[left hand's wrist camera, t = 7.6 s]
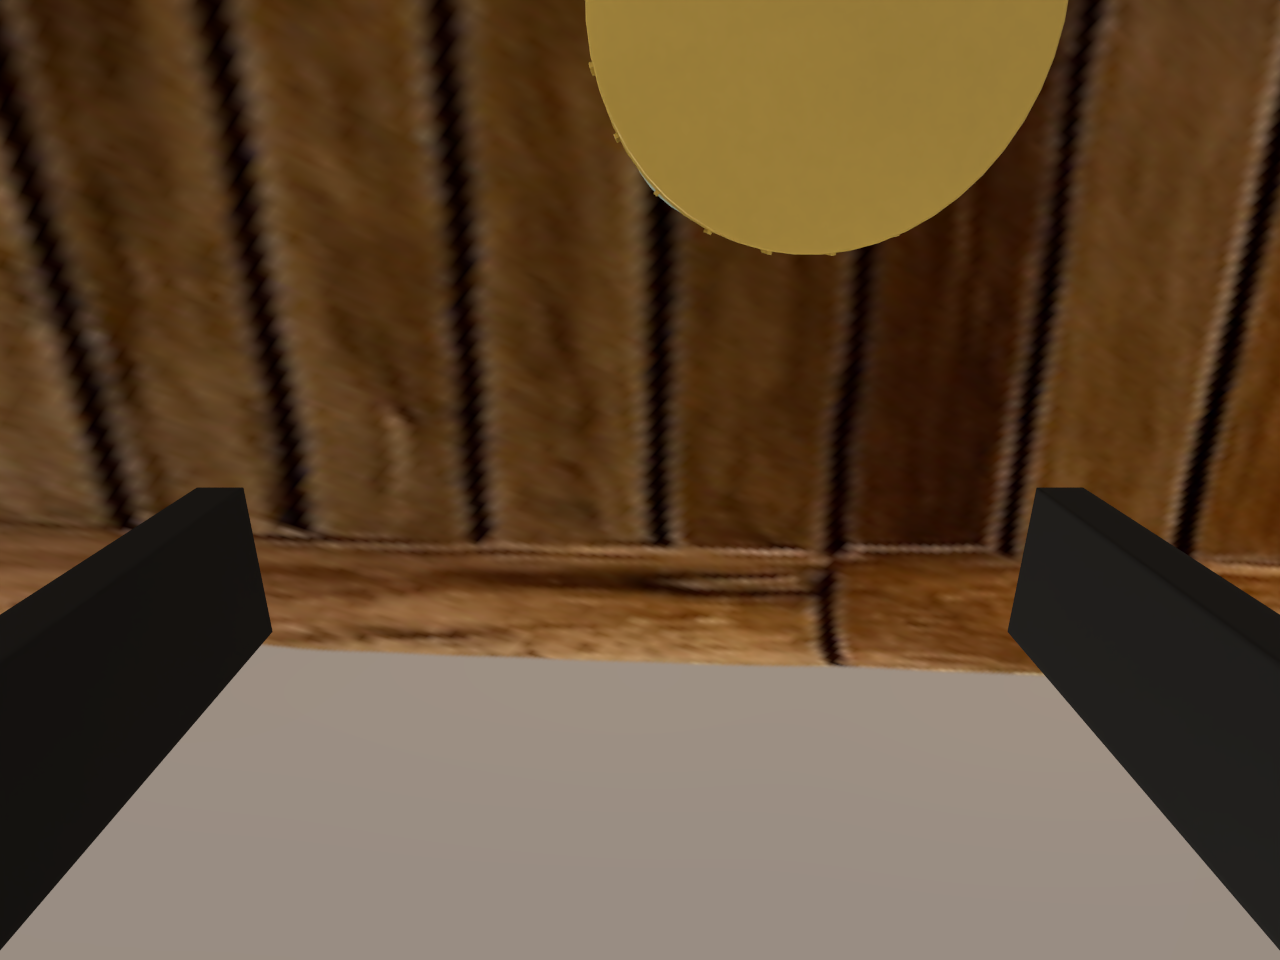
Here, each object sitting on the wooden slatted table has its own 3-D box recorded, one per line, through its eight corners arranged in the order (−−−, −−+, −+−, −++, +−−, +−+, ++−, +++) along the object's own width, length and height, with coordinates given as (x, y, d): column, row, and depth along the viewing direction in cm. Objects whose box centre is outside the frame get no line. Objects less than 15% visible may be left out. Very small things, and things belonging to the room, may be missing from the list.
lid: (495, -54, 16) (481, -81, 15) (912, -399, 14) (943, -468, 13) (733, 332, 19) (741, 342, 18) (1107, 88, 17) (1151, 77, 16)
